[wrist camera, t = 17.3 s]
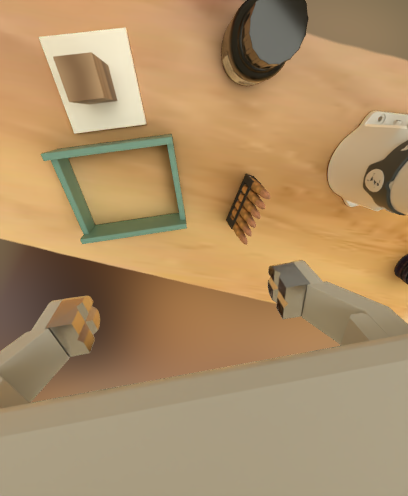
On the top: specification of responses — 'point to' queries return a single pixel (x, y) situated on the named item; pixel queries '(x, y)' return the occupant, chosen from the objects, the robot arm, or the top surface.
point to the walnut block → (85, 78)
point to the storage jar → (402, 269)
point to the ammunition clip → (246, 207)
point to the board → (122, 73)
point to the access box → (123, 227)
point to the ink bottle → (262, 39)
